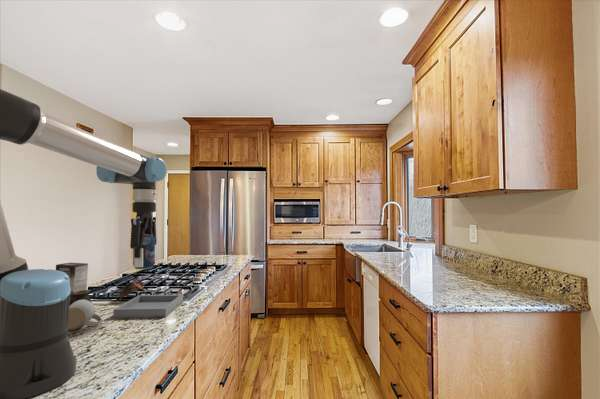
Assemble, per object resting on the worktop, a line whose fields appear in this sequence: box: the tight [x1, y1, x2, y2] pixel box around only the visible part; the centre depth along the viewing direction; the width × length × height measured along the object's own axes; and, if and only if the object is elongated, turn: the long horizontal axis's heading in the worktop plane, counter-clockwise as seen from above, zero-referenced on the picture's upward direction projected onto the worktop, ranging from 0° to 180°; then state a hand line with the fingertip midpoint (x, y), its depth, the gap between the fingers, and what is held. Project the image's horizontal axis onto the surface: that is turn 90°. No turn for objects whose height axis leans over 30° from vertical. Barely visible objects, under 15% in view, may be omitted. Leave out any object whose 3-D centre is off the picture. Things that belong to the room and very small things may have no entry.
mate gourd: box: [69, 289, 93, 306], centre depth 107 cm, size 7×8×10 cm
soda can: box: [132, 233, 156, 270], centre depth 106 cm, size 7×7×12 cm
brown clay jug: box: [118, 281, 146, 300], centre depth 127 cm, size 12×10×8 cm
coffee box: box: [55, 262, 89, 298], centre depth 119 cm, size 9×6×16 cm
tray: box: [112, 294, 184, 319], centre depth 112 cm, size 18×18×3 cm
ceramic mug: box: [68, 300, 103, 331], centre depth 95 cm, size 11×8×8 cm
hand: (144, 264), depth 106 cm, fingers closed on soda can, 7 cm apart
